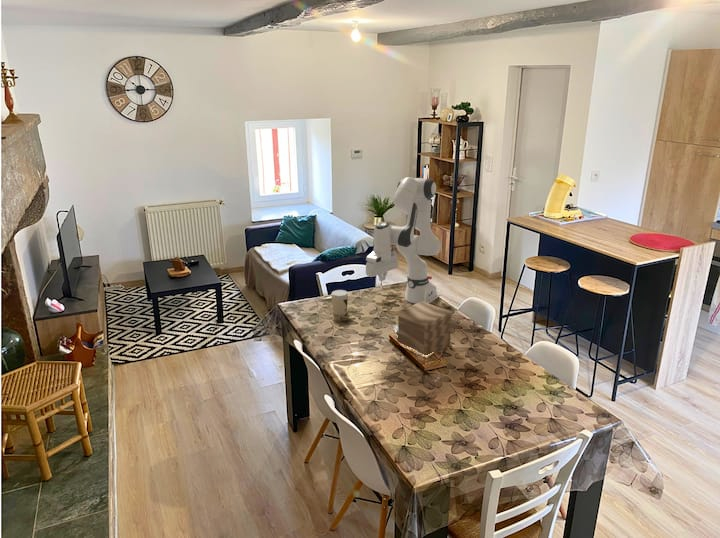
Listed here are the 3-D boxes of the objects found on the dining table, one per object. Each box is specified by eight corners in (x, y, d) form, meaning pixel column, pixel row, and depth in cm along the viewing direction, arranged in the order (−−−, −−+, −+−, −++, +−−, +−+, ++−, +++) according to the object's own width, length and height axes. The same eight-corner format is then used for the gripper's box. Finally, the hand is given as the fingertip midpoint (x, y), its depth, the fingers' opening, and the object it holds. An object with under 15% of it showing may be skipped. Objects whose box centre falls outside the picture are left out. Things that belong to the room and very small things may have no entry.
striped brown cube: (421, 333, 283) (421, 301, 277) (450, 345, 270) (452, 312, 264) (395, 345, 271) (396, 312, 265) (425, 358, 258) (426, 324, 252)
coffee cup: (348, 316, 305) (347, 296, 300) (331, 316, 305) (330, 296, 301) (348, 309, 313) (348, 289, 309) (332, 309, 314) (331, 289, 310)
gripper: (391, 248, 285) (391, 273, 290) (363, 258, 272) (363, 283, 277) (400, 251, 281) (400, 276, 286) (372, 261, 268) (372, 287, 273)
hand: (382, 280), depth 281 cm, fingers closed
